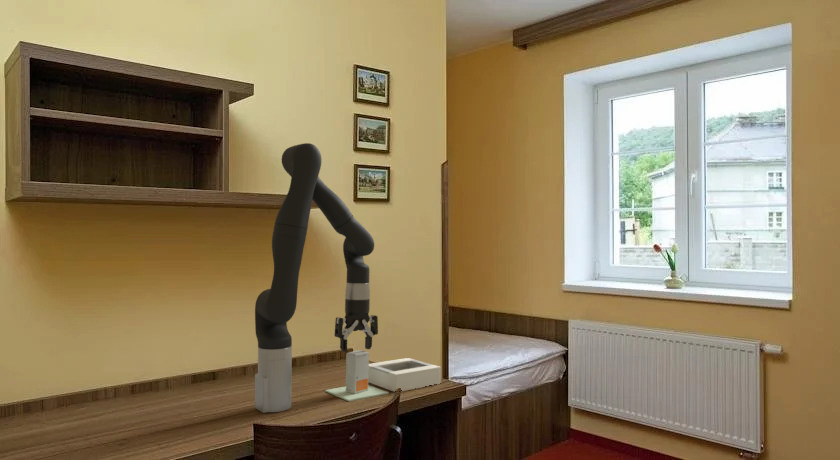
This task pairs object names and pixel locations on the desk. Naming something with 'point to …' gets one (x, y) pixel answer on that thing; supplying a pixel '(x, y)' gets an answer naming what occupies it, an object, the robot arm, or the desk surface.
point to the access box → (403, 374)
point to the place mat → (349, 396)
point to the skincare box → (357, 371)
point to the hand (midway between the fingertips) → (356, 350)
